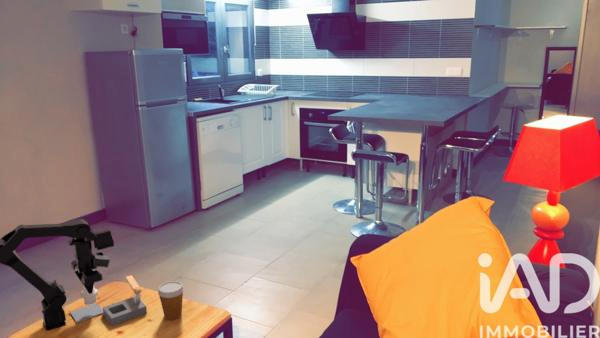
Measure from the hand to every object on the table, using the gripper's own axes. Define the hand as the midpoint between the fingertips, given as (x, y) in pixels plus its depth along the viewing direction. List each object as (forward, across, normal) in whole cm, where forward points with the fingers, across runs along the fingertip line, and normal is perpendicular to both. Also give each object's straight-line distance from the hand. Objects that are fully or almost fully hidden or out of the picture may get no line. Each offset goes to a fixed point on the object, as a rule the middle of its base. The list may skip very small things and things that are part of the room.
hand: (88, 291), depth 176 cm
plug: (+4, 0, 0) cm, 4 cm away
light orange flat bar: (+2, -3, -16) cm, 16 cm away
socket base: (+9, -9, -10) cm, 16 cm away
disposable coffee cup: (+9, -22, -23) cm, 33 cm away
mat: (+9, +1, +1) cm, 9 cm away
